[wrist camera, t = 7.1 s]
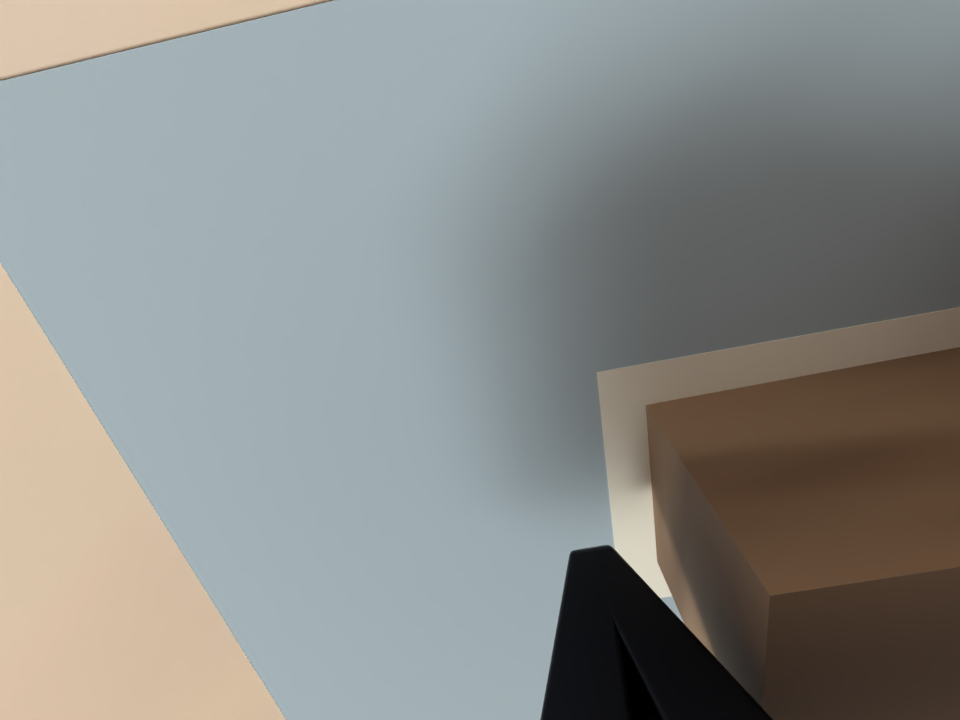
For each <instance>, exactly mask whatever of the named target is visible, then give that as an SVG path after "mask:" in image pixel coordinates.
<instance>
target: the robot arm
mask: <svg viewBox="0 0 960 720" xmlns="http://www.w3.org/2000/svg"><path fill="white" fill-rule="evenodd" d="M540 720H773V719H772V718H771V717H770V716H769V714H768V713H767V712H766V711H765V710H764V709H763V708H762V707H761V706H760V705H759V704H758V703H757V702H756V700H755V699H754V698H753V697H752V696H751V695H750V694H749V693H748V692H747V691H746V690H745V689H744V688H743V687H742V685H741V684H740V683H739V682H738V681H737V680H736V679H735V678H734V677H733V676H732V675H731V674H730V673H729V671H728V670H727V669H726V668H725V667H724V666H723V665H722V664H721V663H720V662H719V661H718V660H717V659H716V657H715V656H714V655H713V654H712V653H711V652H710V651H709V650H708V649H707V648H706V647H705V646H704V645H703V644H702V642H701V641H700V640H699V639H698V638H697V637H696V636H695V635H694V634H693V633H692V632H691V631H690V630H689V628H688V627H687V626H686V625H685V624H684V623H683V622H682V621H681V620H680V619H679V618H678V617H677V616H676V614H675V613H674V612H673V611H672V610H671V609H670V608H669V607H668V606H667V605H666V604H665V603H664V602H663V601H662V599H661V598H660V597H659V596H658V595H657V594H656V593H655V592H654V591H653V590H652V589H651V588H650V587H649V585H648V584H647V583H646V582H645V581H644V580H643V579H642V578H641V577H640V576H639V575H638V574H637V573H636V572H635V570H634V569H633V568H632V567H631V566H630V565H629V564H628V563H627V562H626V561H625V560H624V559H623V558H622V556H621V555H620V554H619V553H618V552H617V551H616V550H615V549H614V548H613V547H612V546H610V545H602V546H596V547H590V548H583V549H577V550H573V551H571V552H570V555H569V560H568V565H567V571H566V577H565V583H564V588H563V594H562V600H561V605H560V611H559V617H558V622H557V628H556V634H555V639H554V645H553V651H552V656H551V662H550V668H549V673H548V679H547V685H546V690H545V696H544V702H543V707H542V713H541V719H540Z"/></svg>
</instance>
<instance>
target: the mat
mask: <svg viewBox="0 0 960 720" xmlns="http://www.w3.org/2000/svg"><path fill="white" fill-rule="evenodd" d="M0 263H1V264H2V266H3V267H4V269H5V271H6V272H7V274H8V275H9V277H10V279H11V280H12V282H13V283H14V285H15V287H16V288H17V290H18V291H19V293H20V295H21V296H22V298H23V299H24V301H25V303H26V304H27V306H28V307H29V309H30V311H31V312H32V314H33V315H34V317H35V319H36V320H37V322H38V323H39V325H40V327H41V328H42V330H43V331H44V333H45V335H46V336H47V338H48V339H49V341H50V343H51V344H52V346H53V347H54V349H55V351H56V352H57V354H58V355H59V357H60V359H61V360H62V362H63V363H64V365H65V367H66V368H67V370H68V371H69V373H70V375H71V376H72V378H73V379H74V381H75V383H76V384H77V386H78V387H79V389H80V391H81V392H82V394H83V395H84V397H85V399H86V400H87V402H88V403H89V405H90V407H91V408H92V410H93V411H94V413H95V415H96V416H97V418H98V419H99V421H100V423H101V424H102V426H103V427H104V429H105V431H106V432H107V434H108V435H109V437H110V439H111V440H112V442H113V443H114V445H115V447H116V448H117V450H118V451H119V453H120V455H121V456H122V458H123V459H124V461H125V463H126V464H127V466H128V467H129V469H130V471H131V472H132V474H133V475H134V477H135V479H136V480H137V482H138V483H139V485H140V487H141V488H142V490H143V491H144V493H145V495H146V496H147V498H148V499H149V501H150V503H151V504H152V506H153V507H154V509H155V511H156V512H157V514H158V515H159V517H160V519H161V520H162V522H163V523H164V525H165V527H166V528H167V530H168V531H169V533H170V535H171V536H172V538H173V539H174V541H175V543H176V544H177V546H178V547H179V549H180V551H181V552H182V554H183V555H184V557H185V559H186V560H187V562H188V563H189V565H190V567H191V568H192V570H193V571H194V573H195V575H196V576H197V578H198V579H199V581H200V583H201V584H202V586H203V587H204V589H205V591H206V592H207V594H208V595H209V597H210V599H211V600H212V602H213V603H214V605H215V607H216V608H217V610H218V611H219V613H220V615H221V616H222V618H223V619H224V621H225V623H226V624H227V626H228V627H229V629H230V631H231V632H232V634H233V635H234V637H235V639H236V640H237V642H238V643H239V645H240V647H241V648H242V650H243V651H244V653H245V655H246V656H247V658H248V659H249V661H250V663H251V664H252V666H253V667H254V669H255V671H256V672H257V674H258V675H259V677H260V679H261V680H262V682H263V683H264V685H265V687H266V688H267V690H268V691H269V693H270V695H271V696H272V698H273V699H274V701H275V703H276V704H277V706H278V707H279V709H280V711H281V712H282V714H283V715H284V717H285V719H286V720H540V719H541V713H542V707H543V702H544V696H545V690H546V685H547V679H548V673H549V668H550V662H551V656H552V651H553V645H554V639H555V634H556V628H557V622H558V617H559V611H560V605H561V600H562V594H563V588H564V583H565V577H566V571H567V565H568V560H569V555H570V552H571V551H573V550H577V549H583V548H590V547H596V546H602V545H610V546H612V547H613V548H614V549H615V550H616V551H617V552H618V553H619V554H620V555H621V556H622V558H623V559H624V560H625V561H626V562H627V563H628V564H629V565H630V566H631V567H632V568H633V569H634V570H635V572H636V573H637V574H638V575H639V576H640V577H641V578H642V579H643V580H644V581H645V582H646V583H647V584H648V585H649V587H650V588H651V589H652V590H653V591H654V592H655V593H656V594H657V595H658V596H659V597H660V598H661V599H662V601H663V602H664V603H665V604H666V605H667V606H668V607H669V608H670V609H671V610H672V611H673V612H674V613H675V614H676V616H677V617H678V618H679V619H680V620H681V621H682V622H683V620H682V617H681V615H680V613H679V611H678V608H677V606H676V604H675V601H674V599H673V597H672V594H671V592H670V590H669V588H668V585H667V583H666V581H665V578H664V576H663V574H662V572H661V569H660V567H659V565H658V562H657V553H656V539H655V526H654V512H653V498H652V485H651V471H650V457H649V444H648V430H647V417H646V405H649V404H654V403H659V402H665V401H670V400H676V399H681V398H686V397H692V396H697V395H703V394H708V393H714V392H719V391H724V390H730V389H735V388H741V387H746V386H752V385H757V384H762V383H768V382H773V381H779V380H784V379H789V378H795V377H800V376H806V375H811V374H817V373H822V372H827V371H833V370H838V369H844V368H849V367H854V366H860V365H865V364H871V363H876V362H882V361H887V360H892V359H898V358H903V357H909V356H914V355H920V354H925V353H930V352H936V351H941V350H947V349H952V348H957V347H960V0H333V1H329V2H325V3H321V4H317V5H313V6H309V7H304V8H300V9H296V10H292V11H288V12H284V13H280V14H276V15H271V16H267V17H263V18H259V19H255V20H251V21H247V22H242V23H238V24H234V25H230V26H226V27H222V28H218V29H213V30H209V31H205V32H201V33H197V34H193V35H189V36H185V37H180V38H176V39H172V40H168V41H164V42H160V43H156V44H151V45H147V46H143V47H139V48H135V49H131V50H127V51H123V52H118V53H114V54H110V55H106V56H102V57H98V58H94V59H89V60H85V61H81V62H77V63H73V64H69V65H65V66H60V67H56V68H52V69H48V70H44V71H40V72H36V73H32V74H27V75H23V76H19V77H15V78H11V79H7V80H3V81H0ZM683 623H684V622H683Z"/></svg>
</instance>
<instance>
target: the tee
mask: <svg viewBox="0 0 960 720" xmlns="http://www.w3.org/2000/svg"><path fill="white" fill-rule="evenodd" d="M646 417H647V430H648V444H649V457H650V471H651V485H652V498H653V512H654V526H655V539H656V553H657V562H658V565H659V567H660V569H661V572H662V574H663V576H664V578H665V581H666V583H667V585H668V588H669V590H670V592H671V594H672V597H673V599H674V601H675V604H676V606H677V608H678V611H679V613H680V615H681V617H682V620H683V622H684V624H685V625H686V626H687V627H688V628H689V630H690V631H691V632H692V633H693V634H694V635H695V636H696V637H697V638H698V639H699V640H700V641H701V642H702V644H703V645H704V646H705V647H706V648H707V649H708V650H709V651H710V652H711V653H712V654H713V655H714V656H715V657H716V659H717V660H718V661H719V662H720V663H721V664H722V665H723V666H724V667H725V668H726V669H727V670H728V671H729V673H730V674H731V675H732V676H733V677H734V678H735V679H736V680H737V681H738V682H739V683H740V684H741V685H742V687H743V688H744V689H745V690H746V691H747V692H748V693H749V694H750V695H751V696H752V697H753V698H754V699H755V700H756V702H757V703H758V704H759V705H760V706H761V707H762V708H763V709H764V710H765V711H766V712H767V713H768V714H769V716H770V717H771V718H772V719H773V720H960V347H957V348H952V349H947V350H941V351H936V352H930V353H925V354H920V355H914V356H909V357H903V358H898V359H892V360H887V361H882V362H876V363H871V364H865V365H860V366H854V367H849V368H844V369H838V370H833V371H827V372H822V373H817V374H811V375H806V376H800V377H795V378H789V379H784V380H779V381H773V382H768V383H762V384H757V385H752V386H746V387H741V388H735V389H730V390H724V391H719V392H714V393H708V394H703V395H697V396H692V397H686V398H681V399H676V400H670V401H665V402H659V403H654V404H649V405H646Z"/></svg>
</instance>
